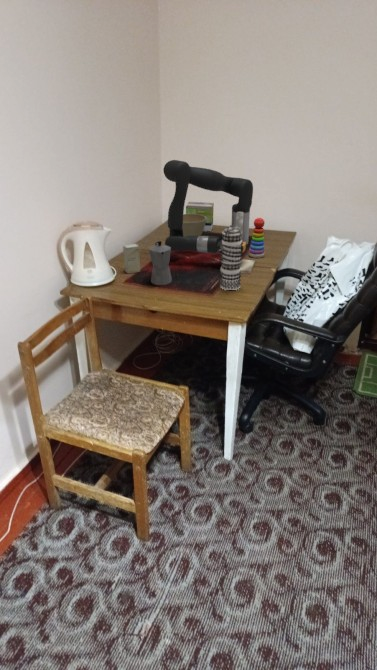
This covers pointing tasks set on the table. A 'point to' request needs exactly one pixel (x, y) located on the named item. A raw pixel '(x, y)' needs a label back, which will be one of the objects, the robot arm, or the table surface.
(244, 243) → the collar
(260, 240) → the stacking toy
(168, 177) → the robot arm
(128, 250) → the skincare box
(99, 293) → the table surface
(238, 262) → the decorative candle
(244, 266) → the post stand
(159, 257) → the coffeepot
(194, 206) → the tea box
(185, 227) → the beige bowl
